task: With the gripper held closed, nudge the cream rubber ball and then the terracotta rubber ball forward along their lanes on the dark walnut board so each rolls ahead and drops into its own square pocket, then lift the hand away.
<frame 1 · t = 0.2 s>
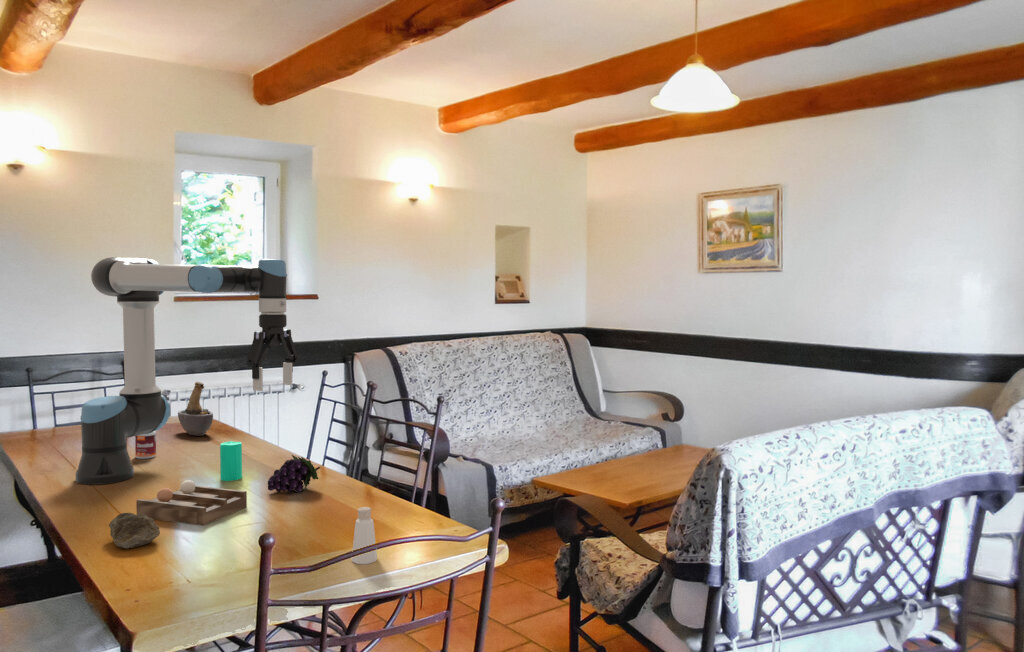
hand: (273, 387, 221), 28 cm above the table, fingers open, 13 cm apart
grey mortar and pestle: (195, 435, 292), on the table
fruit: (294, 491, 215), on the table
candle: (231, 479, 228), on the table
pepper shaker: (364, 560, 162), on the table
ball terracotta: (164, 495, 192), point 5 cm above the table, touching board
stone: (133, 543, 172), on the table
board: (192, 511, 194), on the table
ball cream: (187, 487, 199), point 5 cm above the table, touching board
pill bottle: (145, 457, 254), on the table
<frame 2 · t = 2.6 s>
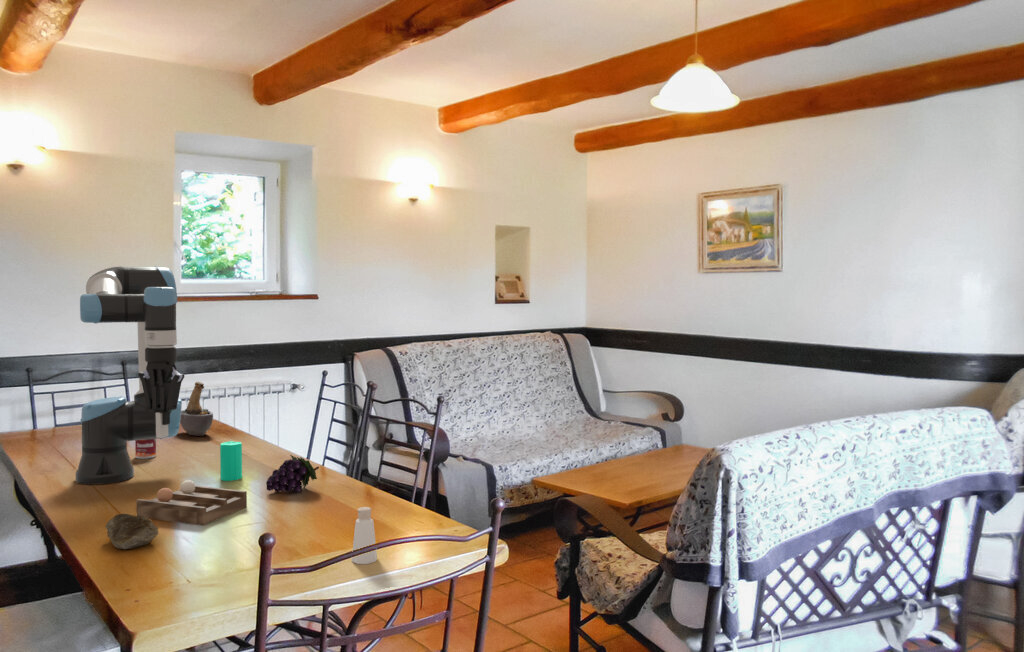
hand: (162, 436, 201), 17 cm above the table, fingers closed
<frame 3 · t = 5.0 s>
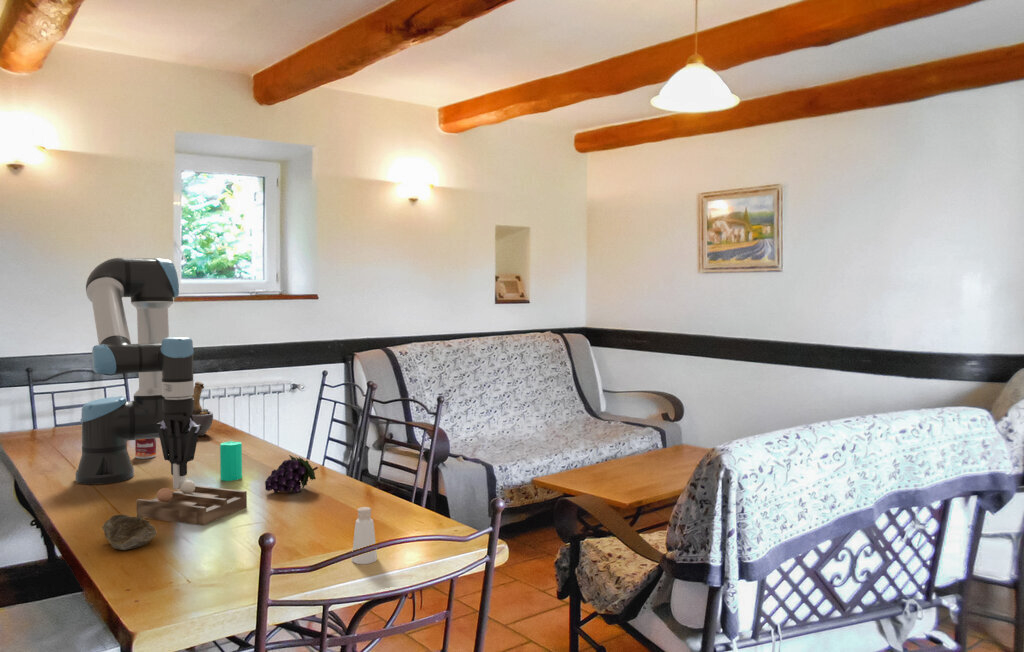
hand: (179, 487, 200), 4 cm above the table, fingers closed
ball cream: (187, 487, 199), point 5 cm above the table, touching board, gripper
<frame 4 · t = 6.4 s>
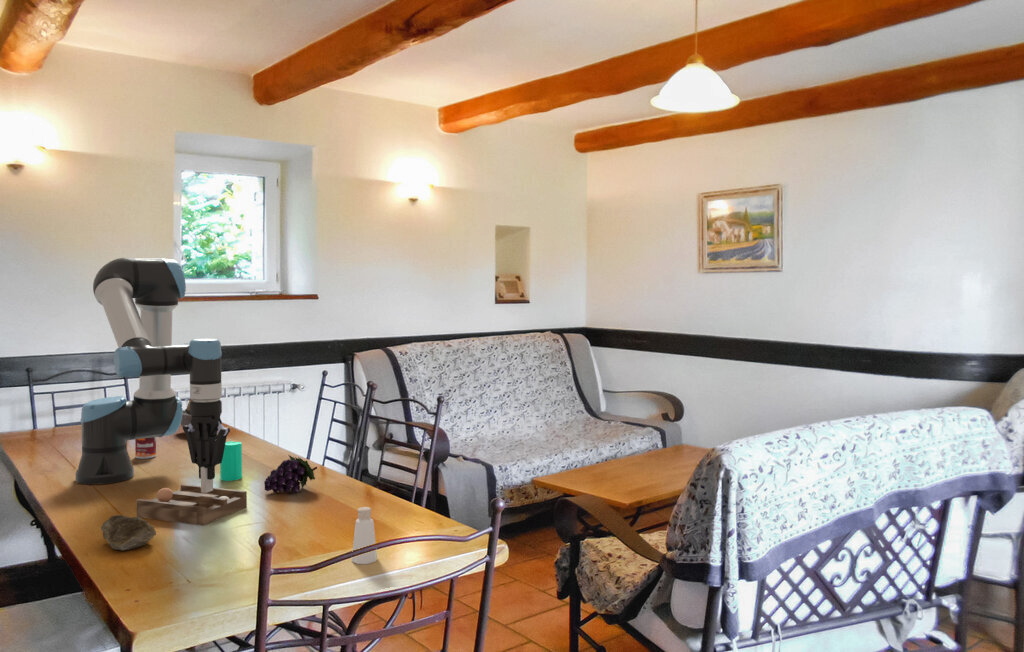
hand: (207, 491, 197), 4 cm above the table, fingers closed
ball cream: (223, 503, 196), point 2 cm above the table, tilted 52°
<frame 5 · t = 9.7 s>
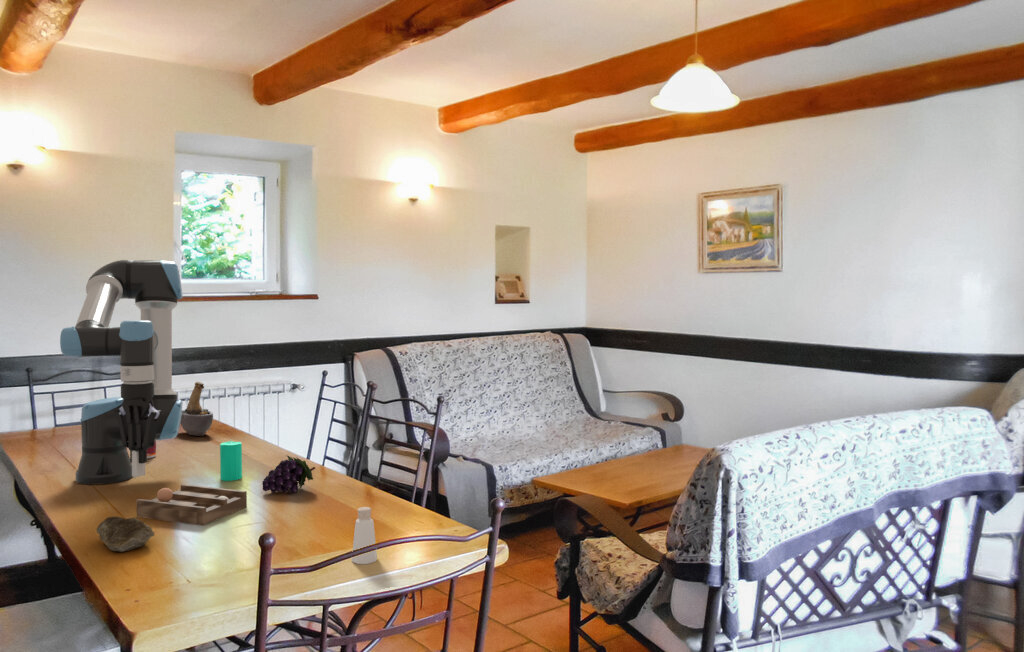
hand: (138, 475, 194), 9 cm above the table, fingers closed
ball cream: (222, 503, 196), point 2 cm above the table, tilted 40°
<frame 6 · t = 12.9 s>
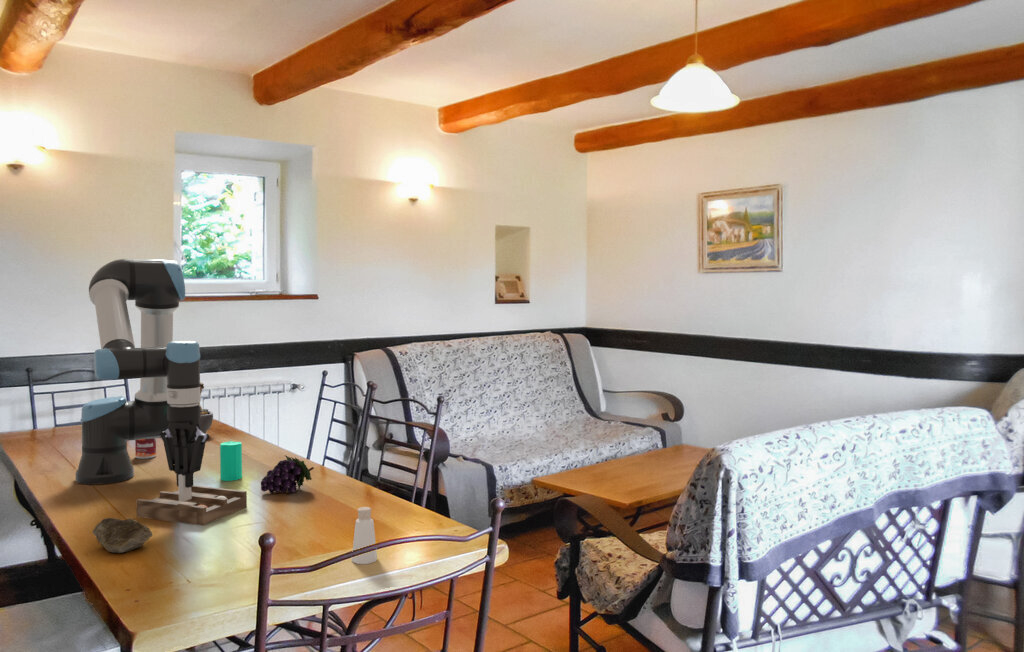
hand: (185, 499, 190), 4 cm above the table, fingers closed
ball terracotta: (201, 512, 188), point 2 cm above the table, tilted 40°
ball cream: (220, 503, 196), point 2 cm above the table, tilted 29°
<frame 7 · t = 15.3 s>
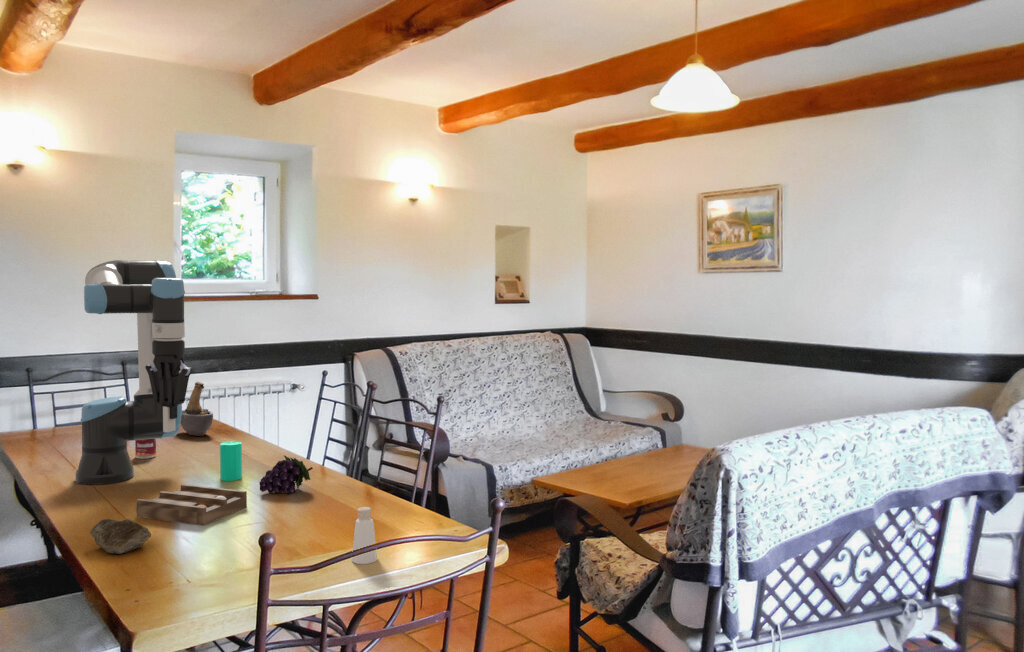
hand: (169, 431, 197), 20 cm above the table, fingers closed
ball cream: (220, 503, 196), point 2 cm above the table, tilted 20°
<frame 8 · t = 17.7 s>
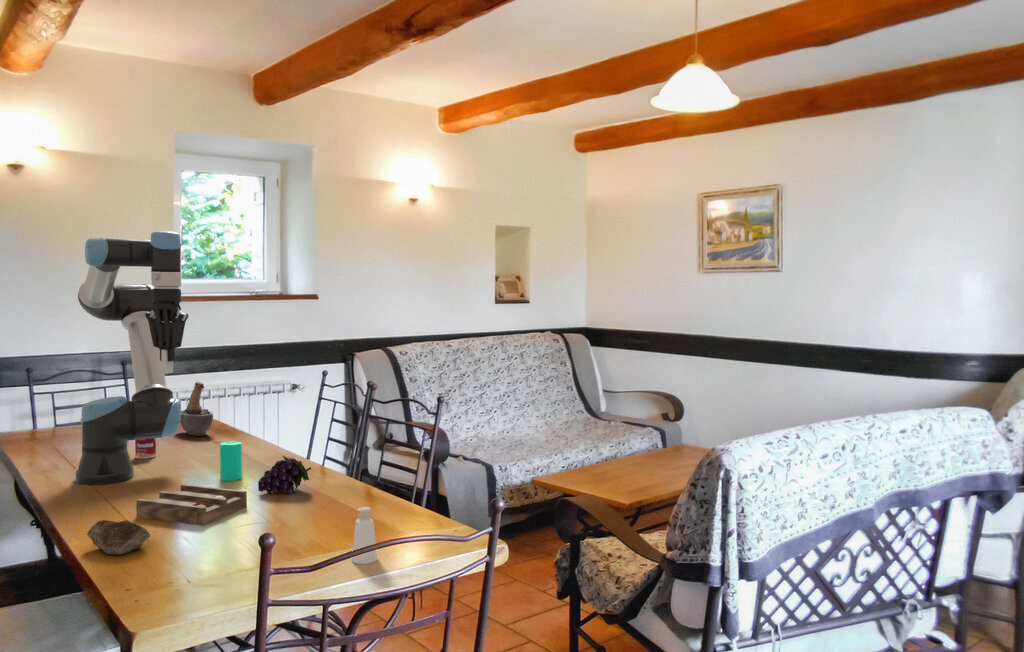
hand: (167, 372, 215), 32 cm above the table, fingers closed
ball cream: (219, 502, 196), point 2 cm above the table, tilted 11°
at the end: ball cream 0.6 cm from the target spot on the board, point 1.8 cm above the board's base; ball terracotta 0.6 cm from the target spot on the board, point 1.8 cm above the board's base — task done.
